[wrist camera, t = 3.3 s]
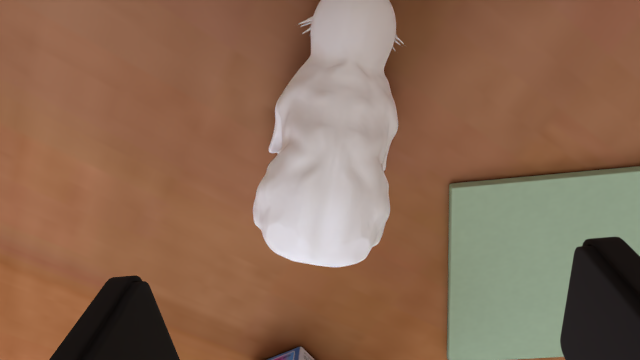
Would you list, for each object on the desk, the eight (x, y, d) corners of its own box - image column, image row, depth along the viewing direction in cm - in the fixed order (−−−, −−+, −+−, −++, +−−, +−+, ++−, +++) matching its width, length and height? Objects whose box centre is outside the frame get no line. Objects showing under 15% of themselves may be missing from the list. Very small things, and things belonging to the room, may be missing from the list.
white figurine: (235, 276, 18) (272, -45, 13) (264, 191, 26) (294, -28, 21) (384, 300, 18) (472, -6, 13) (368, 208, 26) (420, -4, 21)
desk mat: (446, 356, 32) (448, 363, 32) (449, 183, 25) (451, 188, 25) (734, 340, 30) (741, 347, 30) (823, 148, 23) (834, 153, 23)
